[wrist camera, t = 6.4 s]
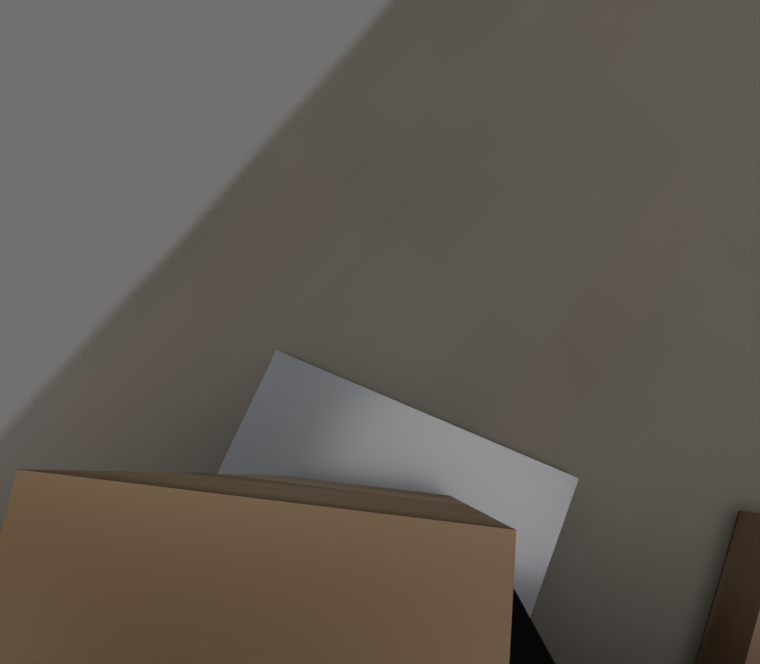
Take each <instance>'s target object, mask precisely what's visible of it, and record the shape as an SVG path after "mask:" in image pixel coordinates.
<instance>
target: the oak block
mask: <svg viewBox="0 0 760 664" xmlns="http://www.w3.org/2000/svg"><path fill="white" fill-rule="evenodd" d="M515 549H516V529H514V528H512V527H510V526H508V525H506V524H504V523H502V522H500V521H498V520H496V519H494V518H492V517H490V516H488V515H486V514H485V513H483V512H481V511H479V510H477V509H475V508H473V507H471V506H469V505H467V504H465V503H463V502H461V501H459V500H457V499H456V498H454V497H452V496H449V495H441V494H432V493H424V492H415V491H407V490H398V489H390V488H381V487H373V486H364V485H356V484H347V483H339V482H330V481H322V480H313V479H305V478H296V477H288V476H279V475H252V474H206V473H161V472H116V471H71V470H25V469H17V470H16V474H15V477H14V481H13V485H12V489H11V493H10V497H9V501H8V505H7V509H6V513H5V517H4V521H3V525H2V529H1V533H0V664H509V661H510V642H511V624H512V605H513V586H514V568H515Z"/></svg>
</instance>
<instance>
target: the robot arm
mask: <svg viewBox="0 0 760 664" xmlns="http://www.w3.org/2000/svg"><path fill="white" fill-rule="evenodd" d="M509 664H555V662H554V660H553V658H552V657H551V655H550V653H549V651H548V649H547V648H546V646H545V644H544V642H543V640H542V638H541V637H540V635H539V633H538V631H537V629H536V628H535V626H534V624H533V622H532V620H531V618H530V617H529V615H528V613H527V611H526V609H525V607H524V606H523V604H522V602H521V600H520V598H519V597H518V595H517V593H516V591H515V589H514V587H513V605H512V624H511V642H510V661H509Z"/></svg>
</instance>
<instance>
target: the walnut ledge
mask: <svg viewBox="0 0 760 664" xmlns="http://www.w3.org/2000/svg"><path fill="white" fill-rule="evenodd" d="M696 664H760V513H752V512H743V511H740V512H739V515H738V519H737V522H736V526H735V529H734V533H733V536H732V540H731V543H730V547H729V550H728V554H727V557H726V561H725V564H724V568H723V571H722V575H721V578H720V581H719V585H718V588H717V592H716V595H715V599H714V602H713V606H712V609H711V613H710V616H709V620H708V623H707V627H706V630H705V634H704V637H703V641H702V644H701V648H700V651H699V655H698V658H697V662H696Z"/></svg>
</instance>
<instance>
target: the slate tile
mask: <svg viewBox="0 0 760 664" xmlns="http://www.w3.org/2000/svg"><path fill="white" fill-rule="evenodd" d="M217 474H252V475H279V476H288V477H296V478H305V479H313V480H322V481H330V482H339V483H347V484H356V485H364V486H373V487H381V488H390V489H398V490H407V491H415V492H424V493H432V494H441V495H449V496H452V497H454V498H456V499H457V500H459V501H461V502H463V503H465V504H467V505H469V506H471V507H473V508H475V509H477V510H479V511H481V512H483V513H485V514H486V515H488V516H490V517H492V518H494V519H496V520H498V521H500V522H502V523H504V524H506V525H508V526H510V527H512V528H514V529H516V549H515V568H514V586H513V587H514V589H515V591H516V593H517V595H518V597H519V598H520V600H521V602H522V604H523V606H524V607H525V609H526V611H527V613H528V615H529V617H531V614H532V611H533V608H534V606H535V603H536V600H537V597H538V594H539V591H540V588H541V585H542V583H543V580H544V577H545V574H546V571H547V568H548V565H549V562H550V560H551V557H552V554H553V551H554V548H555V545H556V542H557V539H558V537H559V534H560V531H561V528H562V525H563V522H564V519H565V517H566V514H567V511H568V508H569V505H570V502H571V499H572V496H573V494H574V491H575V488H576V485H577V482H578V479H579V478H576V477H574V476H572V475H569V474H567V473H565V472H562V471H560V470H558V469H555V468H553V467H551V466H548V465H546V464H543V463H541V462H539V461H536V460H534V459H532V458H529V457H527V456H525V455H522V454H520V453H518V452H515V451H513V450H510V449H508V448H506V447H503V446H501V445H499V444H496V443H494V442H492V441H489V440H487V439H485V438H482V437H480V436H478V435H475V434H473V433H470V432H468V431H466V430H463V429H461V428H459V427H456V426H454V425H452V424H449V423H447V422H445V421H442V420H440V419H437V418H435V417H433V416H430V415H428V414H426V413H423V412H421V411H419V410H416V409H414V408H412V407H409V406H407V405H404V404H402V403H400V402H397V401H395V400H393V399H390V398H388V397H386V396H383V395H381V394H379V393H376V392H374V391H372V390H369V389H367V388H364V387H362V386H360V385H357V384H355V383H353V382H350V381H348V380H346V379H343V378H341V377H339V376H336V375H334V374H331V373H329V372H327V371H324V370H322V369H320V368H317V367H315V366H313V365H310V364H308V363H306V362H303V361H301V360H299V359H296V358H294V357H291V356H289V355H287V354H284V353H282V352H280V351H277V350H276V352H275V354H274V356H273V358H272V360H271V362H270V364H269V366H268V368H267V370H266V372H265V375H264V377H263V379H262V381H261V383H260V385H259V387H258V389H257V391H256V393H255V395H254V398H253V400H252V402H251V404H250V406H249V408H248V410H247V412H246V414H245V416H244V418H243V420H242V423H241V425H240V427H239V429H238V431H237V433H236V435H235V437H234V439H233V441H232V443H231V446H230V448H229V450H228V452H227V454H226V456H225V458H224V460H223V462H222V464H221V466H220V469H219V471H218V473H217Z"/></svg>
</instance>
